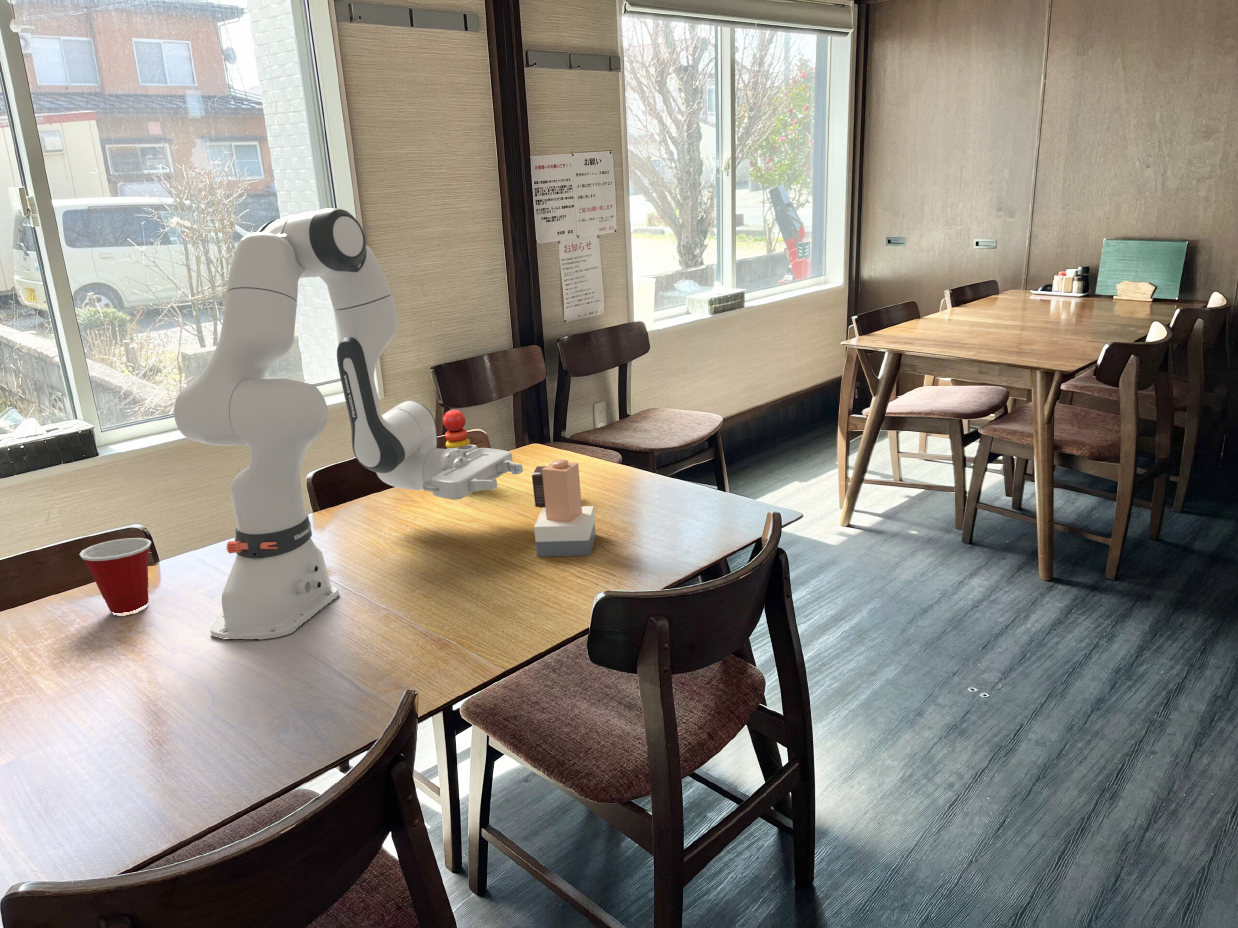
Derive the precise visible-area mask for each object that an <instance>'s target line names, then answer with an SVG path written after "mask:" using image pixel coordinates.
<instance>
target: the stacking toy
mask: <svg viewBox="0 0 1238 928" xmlns="http://www.w3.org/2000/svg"><path fill="white" fill-rule="evenodd" d="M442 424H443V426H444V428H445V429H446V430H447V431H446V432H445V435H444V437H445V440H446V442H445V447H446V449H447V448H458V447H462V446H466V445H471V442H470V439H469V438H468V431H467V429H465V428H464V427H465V425H466V417H465V414H463V412H462V411H461V410H458V409H451V410H448V411H447V412H445V413H444V415H443V418H442Z"/></svg>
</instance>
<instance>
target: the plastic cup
mask: <svg viewBox="0 0 1238 928" xmlns="http://www.w3.org/2000/svg"><path fill="white" fill-rule="evenodd" d="M151 545H152V541H151V540H150V539H148V538H143V537H134V538H133V537H132V538H131V537H130V538H129V537H128V538H120V539H114V540H108V541H104V542H100V543H97V544H94V545H91V546H89V547H87V548H84V549H82V550H81V552H80V553H79V556H80V558H81V559H82V560H84V562H85V565H87V568H88V570H89V572H90V573H91V575H92V577H93V579H94V581H95V584H96V586H97V588H98V590H99V591H100V594H101V596H102V599H103V600H104V602H105V603H106V606H107V607H108V609H109V611H111V612H114V613H123V612H130V611H133V610H136V609H138V608H140V607H142V606H144V605H146V604H147V603H148V604H149V601H150V600H149V599H150V598H149V567H148V566H149V565H148V563H149V562H148V560H149V559H148V558H149V550H150V547H151ZM111 612H110V613H111Z"/></svg>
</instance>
